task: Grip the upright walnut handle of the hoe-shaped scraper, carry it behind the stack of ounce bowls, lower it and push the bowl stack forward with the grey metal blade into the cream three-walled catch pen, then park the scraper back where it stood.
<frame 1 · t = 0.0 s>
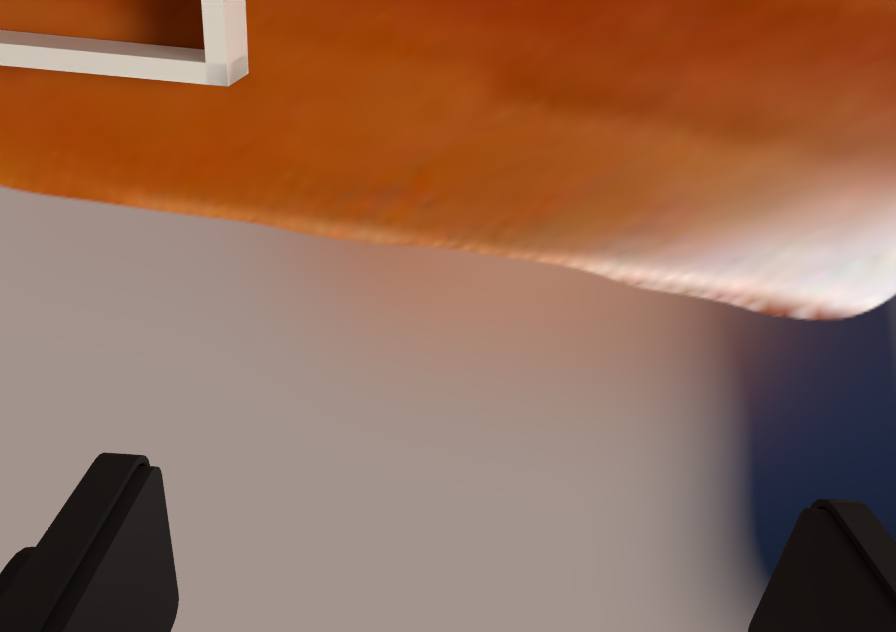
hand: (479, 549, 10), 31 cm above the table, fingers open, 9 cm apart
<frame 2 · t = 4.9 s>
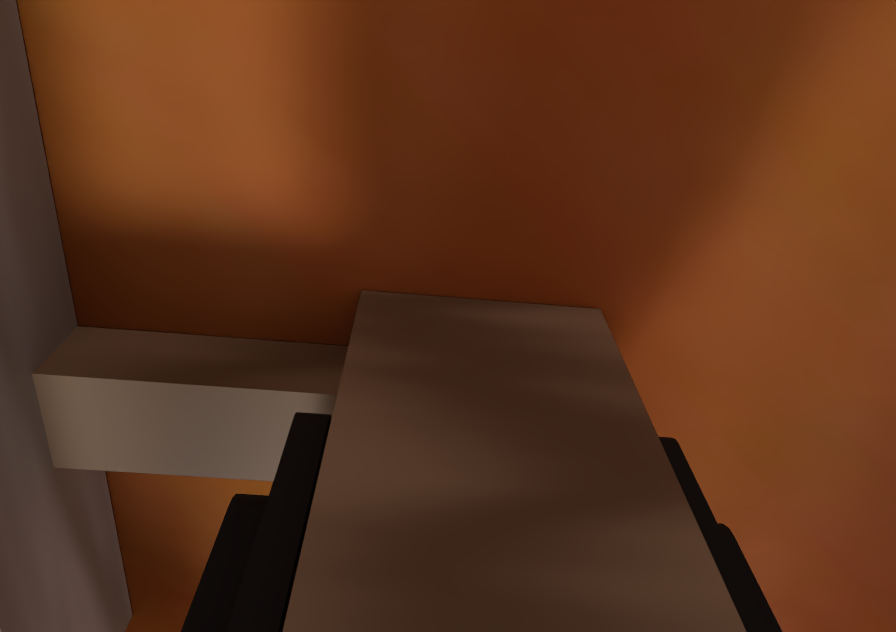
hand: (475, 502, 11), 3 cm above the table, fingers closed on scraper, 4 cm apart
scraper: (469, 398, 13), on the table, touching gripper
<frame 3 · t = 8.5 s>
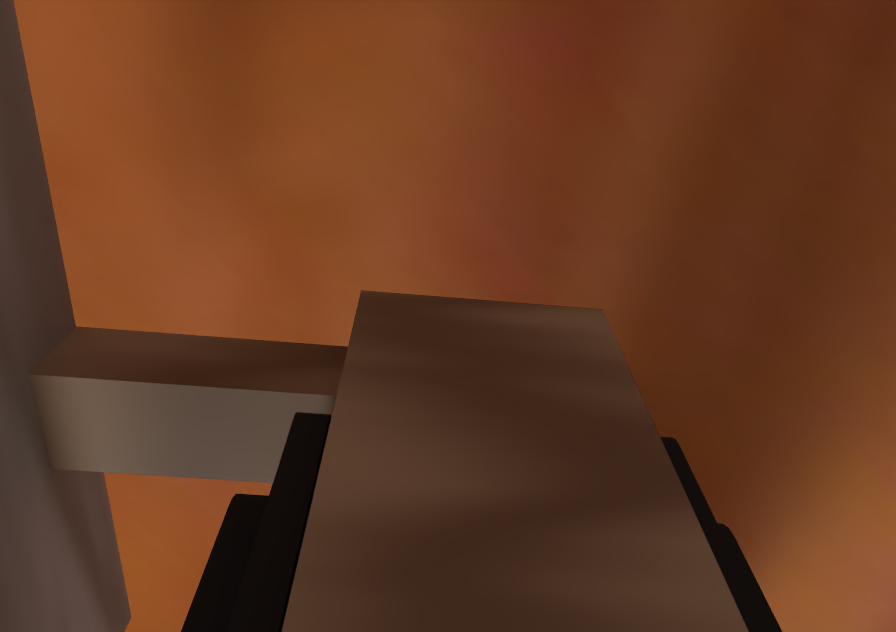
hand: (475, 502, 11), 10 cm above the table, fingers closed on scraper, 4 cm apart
scraper: (469, 399, 13), point 7 cm above the table, touching gripper
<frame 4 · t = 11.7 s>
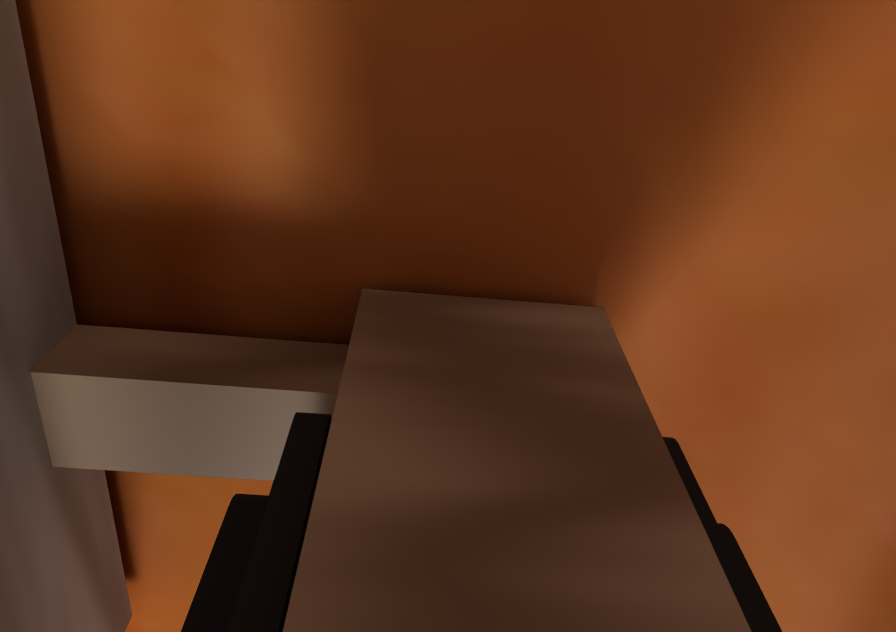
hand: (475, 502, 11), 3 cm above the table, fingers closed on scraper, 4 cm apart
scraper: (470, 397, 13), on the table, touching gripper, paper bowls
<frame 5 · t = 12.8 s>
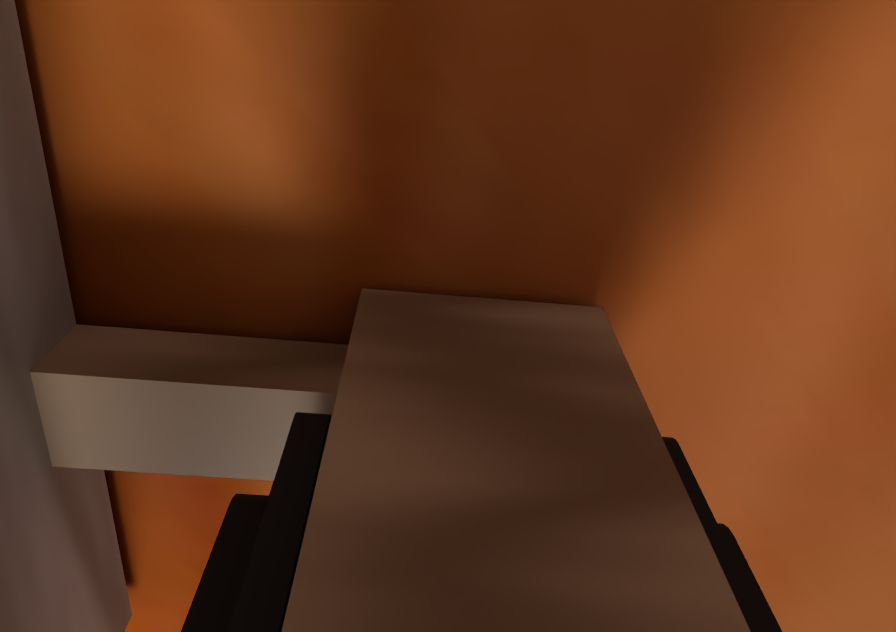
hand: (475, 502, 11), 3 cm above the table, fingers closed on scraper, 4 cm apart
scraper: (470, 397, 13), on the table, touching gripper, paper bowls
when the fingers open (4 cm above the table, at t = 18.4 s): scraper drops 1 cm, on the table.
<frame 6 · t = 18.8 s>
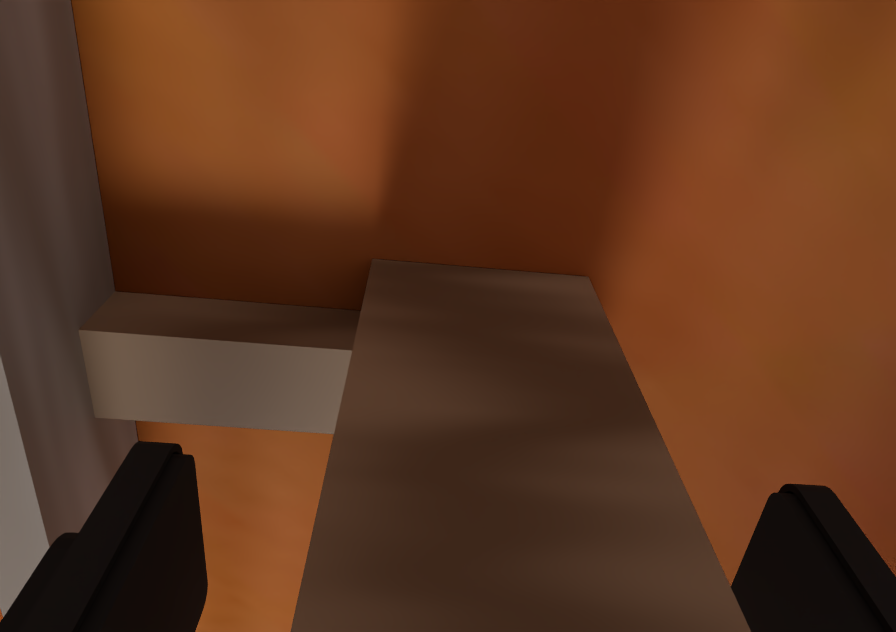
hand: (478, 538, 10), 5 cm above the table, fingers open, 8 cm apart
scraper: (469, 359, 15), on the table
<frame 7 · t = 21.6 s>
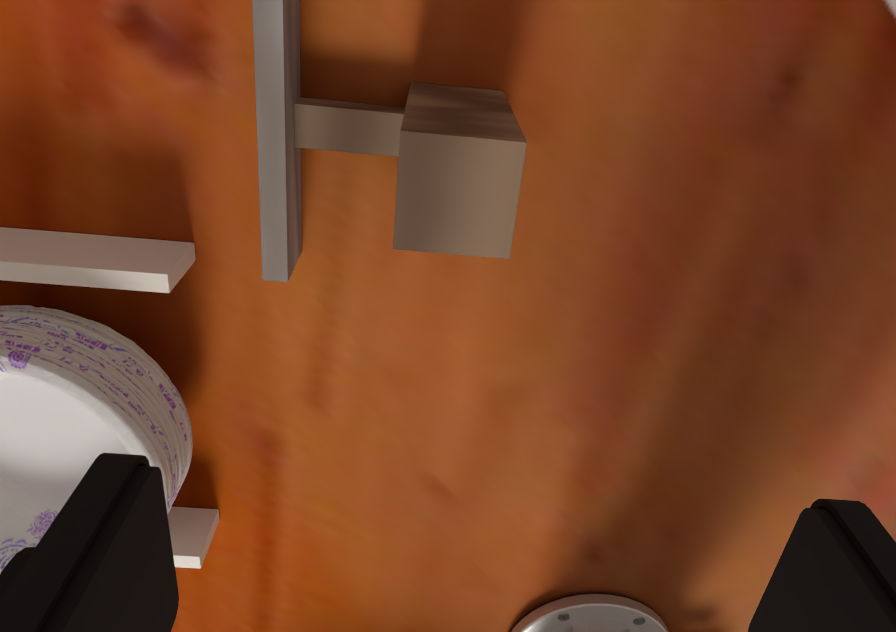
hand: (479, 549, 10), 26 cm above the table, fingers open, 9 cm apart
paper bowls: (82, 391, 40), on the table
scraper: (452, 132, 33), on the table
catch pen: (62, 387, 40), on the table
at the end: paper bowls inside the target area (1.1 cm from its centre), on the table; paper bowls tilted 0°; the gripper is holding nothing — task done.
